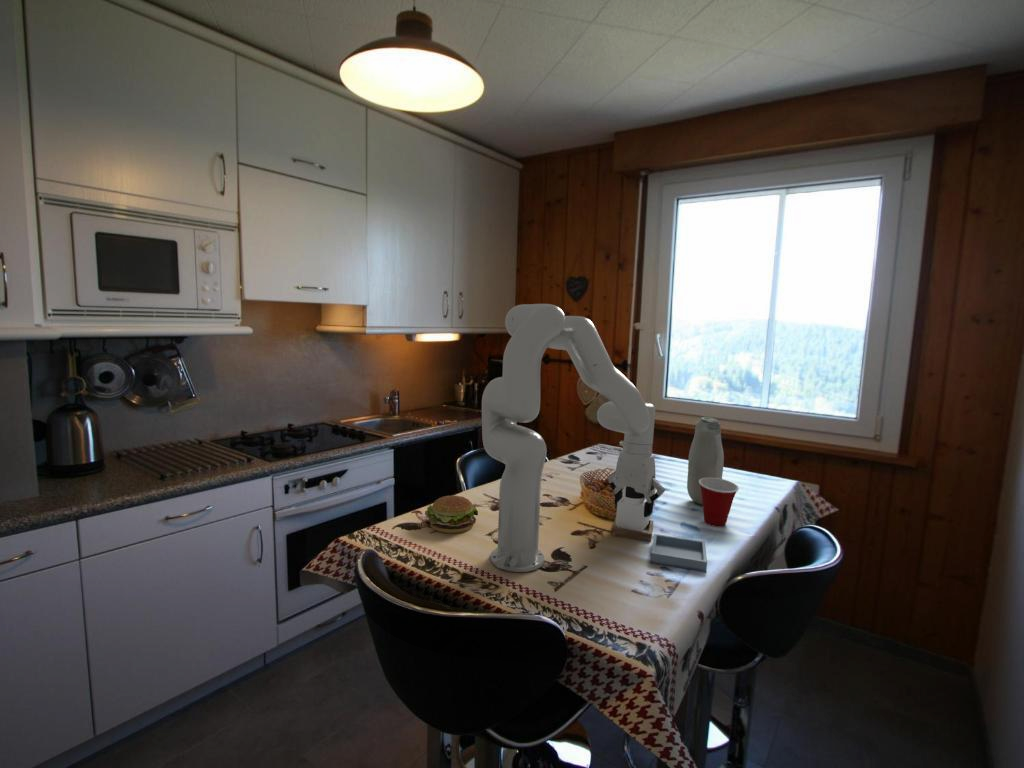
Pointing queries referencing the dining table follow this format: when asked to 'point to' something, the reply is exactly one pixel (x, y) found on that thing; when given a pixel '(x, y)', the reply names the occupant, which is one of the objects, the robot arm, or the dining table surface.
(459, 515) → the food
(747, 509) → the dining table surface
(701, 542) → the tray
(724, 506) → the plastic cup
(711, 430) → the grey bottle
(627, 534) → the collar
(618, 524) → the medicine bottle
